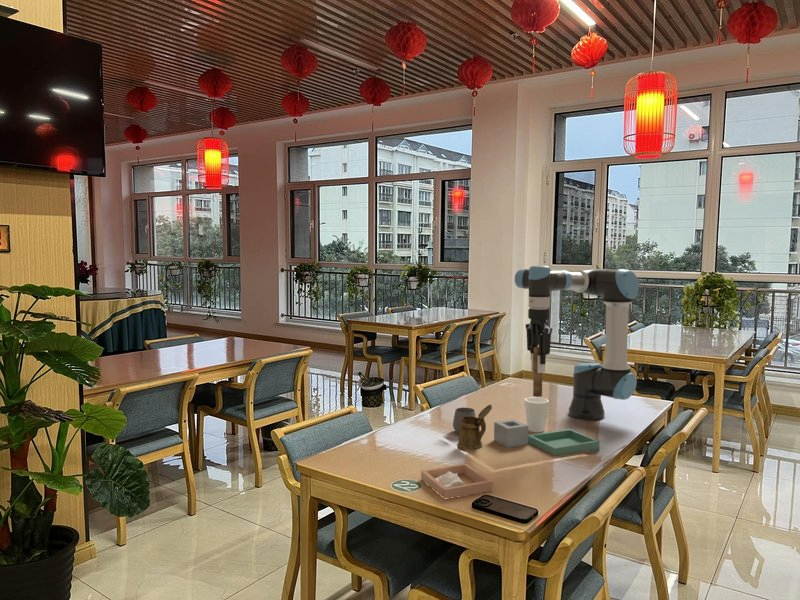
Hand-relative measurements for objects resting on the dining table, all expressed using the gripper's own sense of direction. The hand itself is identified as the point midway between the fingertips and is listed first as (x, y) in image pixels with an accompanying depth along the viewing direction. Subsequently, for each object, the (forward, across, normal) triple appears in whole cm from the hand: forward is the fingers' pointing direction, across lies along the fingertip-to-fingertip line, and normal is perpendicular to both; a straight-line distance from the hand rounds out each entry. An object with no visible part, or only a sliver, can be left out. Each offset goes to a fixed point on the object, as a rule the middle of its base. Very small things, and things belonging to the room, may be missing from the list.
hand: (538, 371), depth 213 cm
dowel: (+9, 0, 0) cm, 9 cm away
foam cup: (+28, -14, +9) cm, 33 cm away
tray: (+28, +5, +8) cm, 30 cm away
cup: (+28, -21, -19) cm, 40 cm away
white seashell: (+28, +21, -47) cm, 59 cm away
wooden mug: (+28, -5, -24) cm, 37 cm away
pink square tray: (+28, +21, -45) cm, 57 cm away
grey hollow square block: (+28, -5, -8) cm, 30 cm away
